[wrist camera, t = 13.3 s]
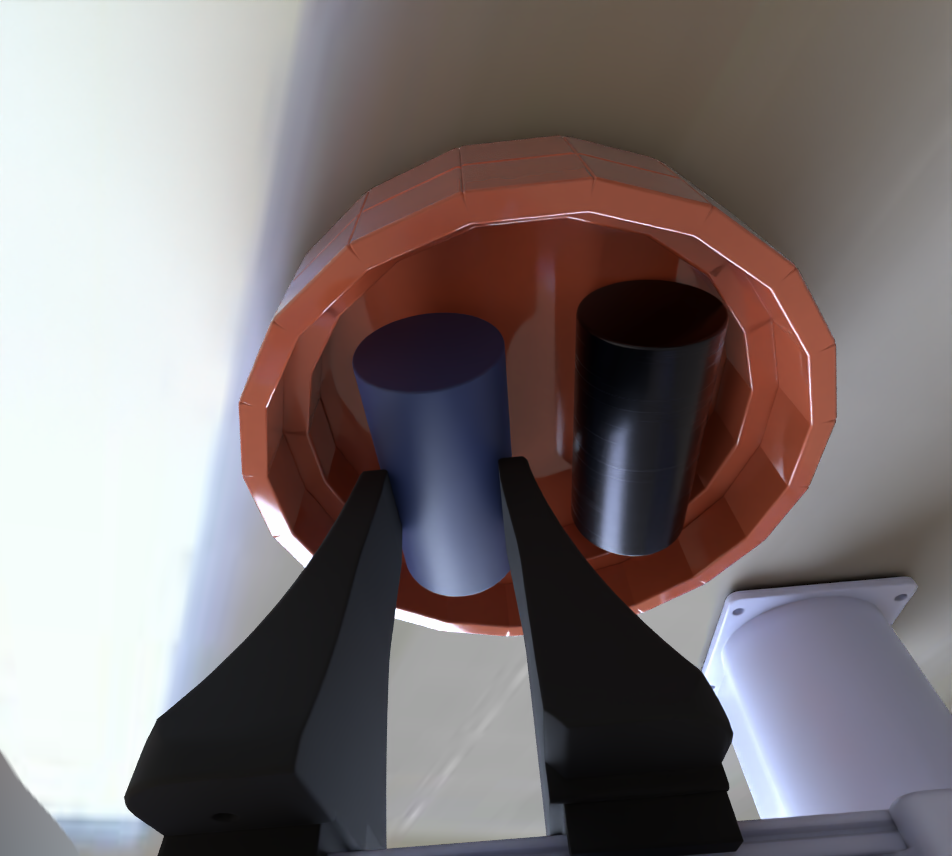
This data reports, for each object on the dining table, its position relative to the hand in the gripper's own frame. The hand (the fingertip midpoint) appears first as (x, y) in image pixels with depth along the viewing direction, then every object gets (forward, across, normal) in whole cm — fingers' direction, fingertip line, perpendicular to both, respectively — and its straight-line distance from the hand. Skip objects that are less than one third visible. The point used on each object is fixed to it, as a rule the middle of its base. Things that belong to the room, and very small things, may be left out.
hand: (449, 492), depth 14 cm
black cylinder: (+3, -4, 0) cm, 6 cm away
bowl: (+4, -2, 0) cm, 5 cm away
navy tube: (+1, -2, 0) cm, 2 cm away
